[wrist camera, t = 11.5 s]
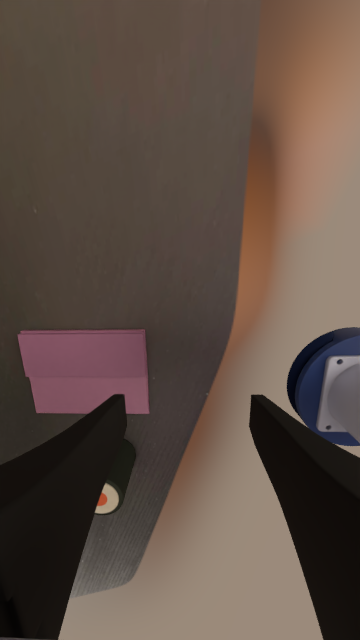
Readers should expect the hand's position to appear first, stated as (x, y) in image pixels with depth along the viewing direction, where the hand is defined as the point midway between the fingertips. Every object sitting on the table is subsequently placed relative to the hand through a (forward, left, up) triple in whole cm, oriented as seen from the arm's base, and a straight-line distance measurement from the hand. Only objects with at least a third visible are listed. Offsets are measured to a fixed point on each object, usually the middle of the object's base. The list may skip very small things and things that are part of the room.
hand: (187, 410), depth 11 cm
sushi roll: (+8, +12, -8) cm, 17 cm away
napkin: (+10, +2, -8) cm, 13 cm away
